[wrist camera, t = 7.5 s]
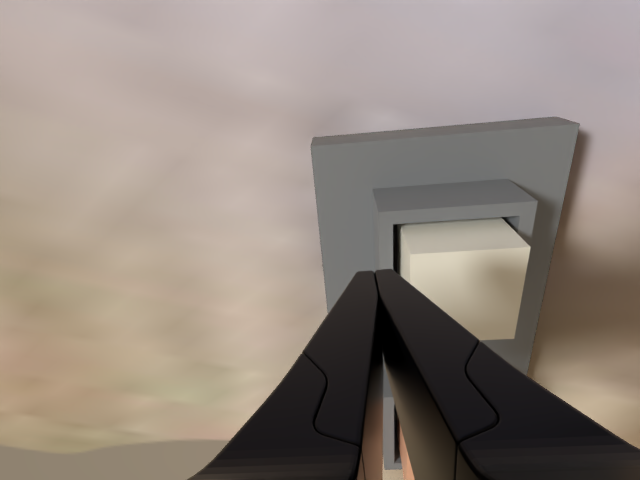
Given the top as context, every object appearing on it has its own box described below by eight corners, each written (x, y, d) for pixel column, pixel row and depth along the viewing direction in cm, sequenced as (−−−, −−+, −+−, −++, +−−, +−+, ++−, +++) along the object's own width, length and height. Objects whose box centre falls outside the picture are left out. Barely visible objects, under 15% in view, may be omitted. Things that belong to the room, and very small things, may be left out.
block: (556, 116, 18) (626, 137, 14) (500, 420, 28) (531, 489, 24) (313, 137, 19) (305, 163, 15) (341, 424, 29) (342, 491, 25)
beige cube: (494, 211, 17) (530, 247, 14) (485, 291, 19) (514, 338, 16) (397, 218, 17) (410, 254, 14) (397, 296, 19) (408, 343, 16)
